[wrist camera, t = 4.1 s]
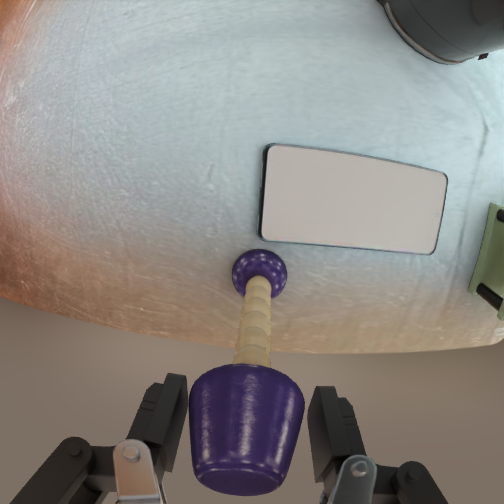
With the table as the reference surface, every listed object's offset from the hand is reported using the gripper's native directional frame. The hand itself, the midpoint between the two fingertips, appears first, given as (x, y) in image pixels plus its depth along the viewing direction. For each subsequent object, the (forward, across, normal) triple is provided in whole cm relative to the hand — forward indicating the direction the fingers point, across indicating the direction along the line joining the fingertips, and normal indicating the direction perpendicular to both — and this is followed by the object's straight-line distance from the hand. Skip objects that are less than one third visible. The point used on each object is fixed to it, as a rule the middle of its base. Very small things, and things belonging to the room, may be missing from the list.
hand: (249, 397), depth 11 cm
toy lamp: (+13, 0, 0) cm, 13 cm away
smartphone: (+13, -7, -7) cm, 16 cm away
